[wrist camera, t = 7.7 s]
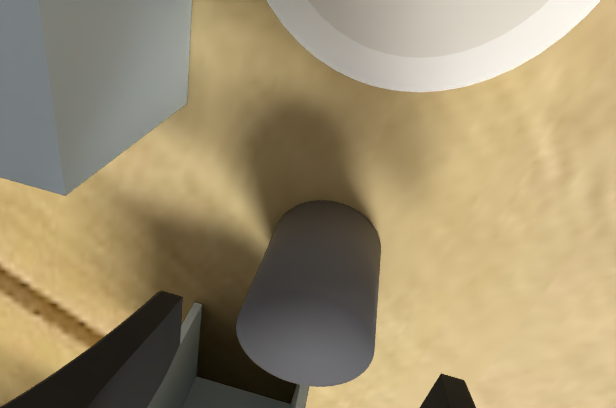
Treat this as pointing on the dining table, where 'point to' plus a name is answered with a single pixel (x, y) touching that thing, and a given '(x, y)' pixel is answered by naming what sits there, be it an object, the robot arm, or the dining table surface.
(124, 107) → the cover
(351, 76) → the dish
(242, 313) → the dark grey cylinder
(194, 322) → the cover
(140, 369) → the robot arm
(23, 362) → the dining table surface
